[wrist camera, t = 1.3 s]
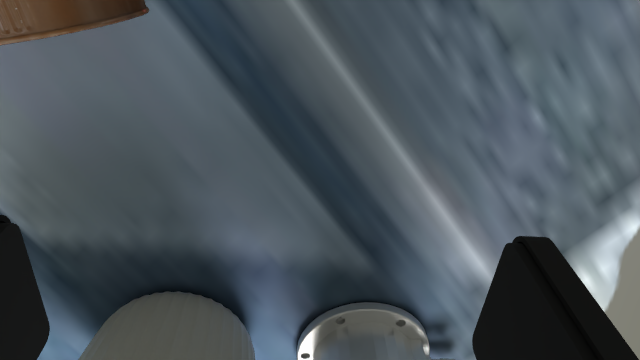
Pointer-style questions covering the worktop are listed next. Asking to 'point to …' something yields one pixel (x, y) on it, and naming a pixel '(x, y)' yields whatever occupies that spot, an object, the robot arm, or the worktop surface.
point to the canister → (171, 331)
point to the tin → (61, 17)
